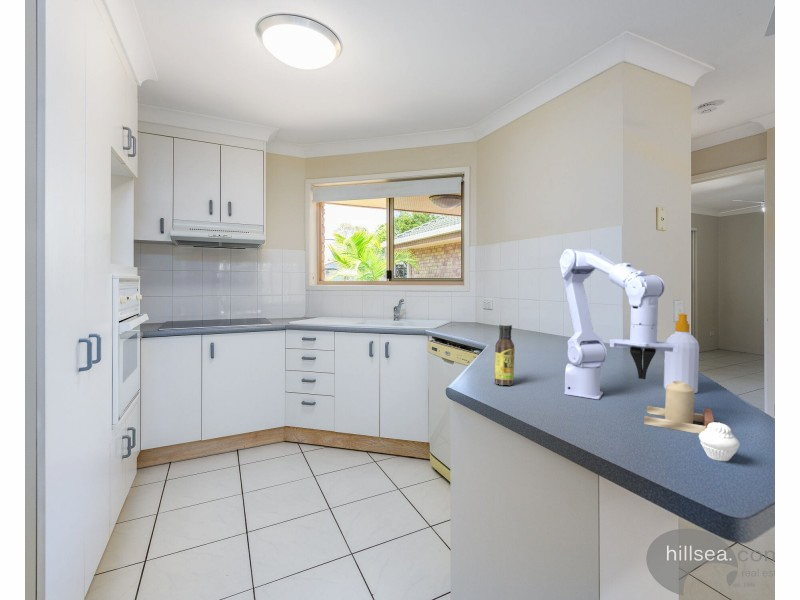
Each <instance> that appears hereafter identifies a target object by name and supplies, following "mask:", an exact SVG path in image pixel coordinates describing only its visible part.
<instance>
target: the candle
mask: <svg viewBox="0 0 800 600" xmlns="http://www.w3.org/2000/svg"><path fill="white" fill-rule="evenodd" d="M694 399H695V393H694V389H693V388H692V387H690V386H689V385H687V384H686V383H683V382H681V381H673V382H672V383H670V384H669V385H667V386H666V389H665V406H664V408H665V416H664V419H666V420H672V421H678V422H684V423H690V424H694V421H693V413H694V409H695V408H694V407H695V406H694V405H695V401H694Z"/></svg>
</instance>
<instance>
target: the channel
mask: <svg viewBox="0 0 800 600" xmlns="http://www.w3.org/2000/svg"><path fill="white" fill-rule="evenodd" d="M712 412H713V411H712V408H707V407H704V408H703V414H702V413H696V412H693V422H700V423H703V425H699V424H694V423H693V424H690V423H684V422H678V421H672V420H666V419H665V418H659V417H653V416H646V415H644V417H643V418H644V419H643V421H644V422H643V423H644V425H648V426H653V427H659V428H664V429H671V430H676V431H683V432H688V433H693V434H698V435H699V434H700V433H701V432H702V431H705V429H706V428H707V426H708V424H710V423H713V422H715V420H714V417H713V416H714V415H713V413H712ZM646 414H650V415H657V416H662V417H665V407H664V408H663V407H657V406H651V405H647V407H646Z"/></svg>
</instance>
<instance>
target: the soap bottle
mask: <svg viewBox="0 0 800 600" xmlns="http://www.w3.org/2000/svg"><path fill="white" fill-rule="evenodd" d="M677 315H678V320H677V322H676V323H675V327H674V328H675V329H674V333H672V334H670V336H668V338H666V341H665V342H666V343H675V344H679V353H675V352H668V351H664V363H663V364H664V365H663V367H664V368H663V369H664V370H663V389H664V390H666V386H667V385H669V384H670V383H672V382H673V381H681V382H683V383H686V384H687V385H689V386H690V387H692V388H693V389H694V394H697V393H698V392H699V391H698V390H699V389H698V388H699V366H700V365H699V364H700V363H699V361H700V360H699V359H700V345H699V341H698V340H697V339H696V338H695V336H694V335H693V334H690V323H688V322H689V321H688V314H685V313H681V312H680V313H679V314H677Z"/></svg>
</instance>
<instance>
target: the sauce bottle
mask: <svg viewBox="0 0 800 600" xmlns="http://www.w3.org/2000/svg"><path fill="white" fill-rule="evenodd" d="M498 329H499V336H498V340H497V341H496V344H495V349H494V350H495V352H494V371H493V373H494V375H493V376H494V384H495V383H496V384H495V385H498V384H499V385H498V386H503V385H509V386H512V385H513V384H514V378H515V344H514V342H513V340H512V329H513V325H512V324H507V323H501V324H499V326H498Z"/></svg>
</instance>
